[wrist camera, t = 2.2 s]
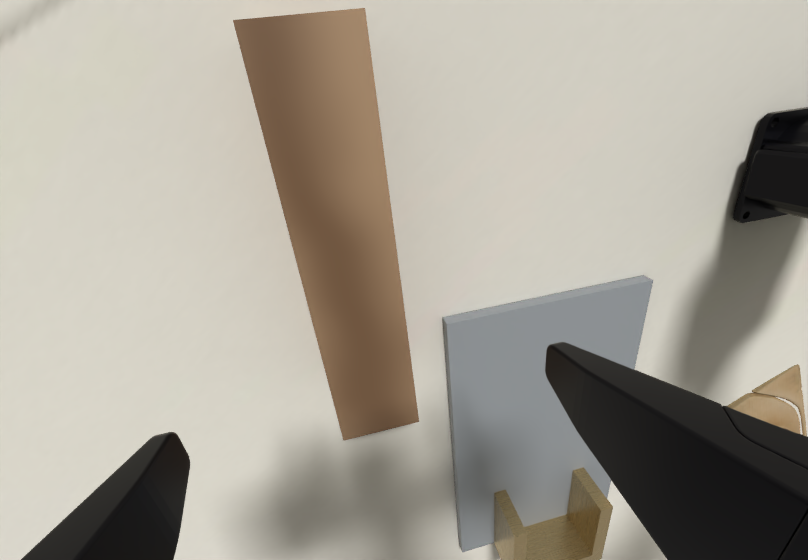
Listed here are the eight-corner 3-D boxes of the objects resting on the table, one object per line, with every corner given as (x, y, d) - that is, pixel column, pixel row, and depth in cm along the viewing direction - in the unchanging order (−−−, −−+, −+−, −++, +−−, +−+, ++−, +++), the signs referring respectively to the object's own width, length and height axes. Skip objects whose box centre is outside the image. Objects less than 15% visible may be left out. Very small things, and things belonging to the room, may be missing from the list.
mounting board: (643, 275, 25) (652, 280, 24) (599, 500, 36) (604, 508, 35) (442, 317, 23) (446, 324, 22) (459, 542, 34) (462, 552, 33)
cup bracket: (583, 467, 31) (612, 506, 28) (575, 517, 34) (601, 558, 31) (494, 492, 30) (514, 536, 27) (494, 542, 33) (512, 587, 30)
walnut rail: (352, 34, 16) (364, 8, 12) (400, 363, 24) (418, 421, 20) (257, 44, 16) (233, 20, 11) (338, 377, 24) (343, 440, 19)
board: (644, 446, 34) (673, 477, 32) (791, 351, 33) (836, 374, 30) (698, 545, 46) (723, 574, 43) (809, 478, 44) (842, 503, 42)
